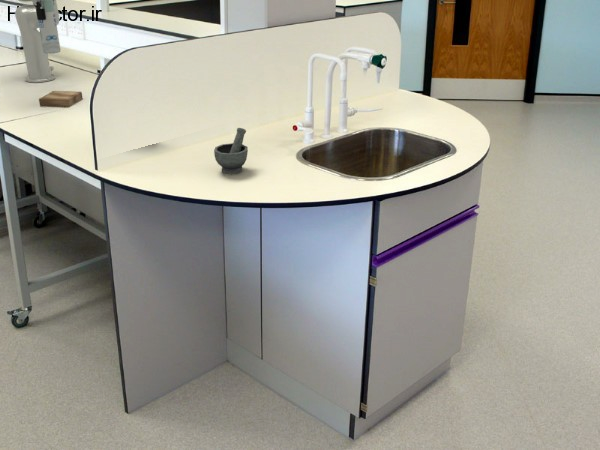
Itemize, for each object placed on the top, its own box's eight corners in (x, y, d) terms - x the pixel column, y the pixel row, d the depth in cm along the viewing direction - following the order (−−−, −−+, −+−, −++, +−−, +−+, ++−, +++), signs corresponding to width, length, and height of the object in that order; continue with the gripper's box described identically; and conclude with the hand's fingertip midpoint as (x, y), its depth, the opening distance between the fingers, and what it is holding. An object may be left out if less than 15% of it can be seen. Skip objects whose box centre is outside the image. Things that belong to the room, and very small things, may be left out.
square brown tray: (54, 98, 285) (53, 90, 284) (82, 99, 283) (81, 91, 282) (40, 106, 274) (38, 98, 273) (69, 107, 272) (68, 99, 271)
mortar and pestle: (233, 179, 203) (230, 139, 197) (208, 172, 208) (206, 133, 202) (258, 167, 211) (256, 128, 206) (234, 161, 216) (232, 123, 211)
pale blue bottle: (63, 52, 270) (54, -3, 262) (45, 54, 267) (36, -1, 259) (58, 49, 275) (49, -5, 267) (41, 51, 272) (32, -3, 264)
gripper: (40, -35, 267) (48, 14, 274) (16, -31, 251) (25, 21, 259) (59, -35, 266) (66, 14, 273) (36, -31, 250) (44, 22, 258)
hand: (46, 17), depth 266 cm, fingers closed on pale blue bottle, 6 cm apart
